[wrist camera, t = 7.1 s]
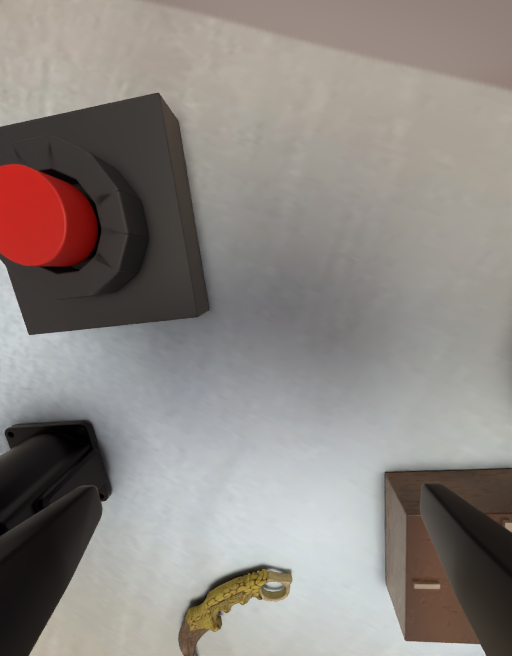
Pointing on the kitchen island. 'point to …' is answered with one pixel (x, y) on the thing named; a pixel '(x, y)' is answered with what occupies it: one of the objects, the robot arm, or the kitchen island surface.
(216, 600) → the knife
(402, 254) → the kitchen island surface
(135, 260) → the switch block
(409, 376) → the kitchen island surface
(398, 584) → the dial panel
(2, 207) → the button
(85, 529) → the robot arm
